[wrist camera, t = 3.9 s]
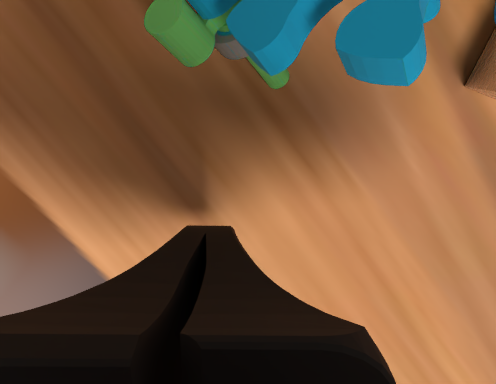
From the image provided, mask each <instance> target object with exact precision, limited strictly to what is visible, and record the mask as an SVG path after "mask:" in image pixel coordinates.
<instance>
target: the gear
mask: <svg viewBox="0 0 496 384" xmlns="http://www.w3.org/2000/svg"><path fill="white" fill-rule="evenodd" d="M187 1H188V2H189V3H190V4H191V6H192V7H193V8H194V9H195V10H196V11H197V13H198V14H196V13H195V11H194V10H193V9H192V8H191V7H190V6H189V4H188V3H187V2H186V1H185V0H154V1H153V3H152V4H151V5H150V6H149V8H148V10H147V12H146V14H145V18H144V26H145V28H146V30H147V31H148V32H149V33H150V34H151V35H152V36H153V37H154V38H155V39H156V40H157V41H159V42H160V43H161V44H162V45H163V46H164V47H165V48H166V49H167V50H168V51H169V52H170V53H171V54H172V55H174V56H175V57H176V58H177V59H178V60H179V61H180V62H181V63H182V64H183V65H184V66H187V67H194V66H198V65H200V64H201V63H203V62H204V61H205V60H207V59H208V57H209V56H210V55H211V53H212V51H213V49H214V47H215V48H216V49H217V50H218V51H219V52H220V53H221V54H222V55H223V56H224V57H226V58H228V59H242V58H245V57H246V58H247V59H248V61H249V62H250V63H251V64H252V65H253V67H254V68H255V69H256V70H257V72H258V73H259V74H260V75H261V77H262V78H263V79H264V80H265V82H266V83H267V84H268V85H269V86H270V87H271V88H273V89H279V88H281V87H283V86H284V85H285V84H286V83H287V82H288V80H289V72H288V70H287V68H288V67H289V66H290V65H291V64H292V63H293V62H294V60H295V59H296V57H297V56H298V54H299V52H300V50H301V47H302V45H303V43H304V41H305V40H306V38H307V36H308V35H309V33H310V32H311V30H312V29H313V28H314V26H315V25H316V24H317V23H318V22H319V20H320V19H321V18H322V17H323V16H324V15H325V14H326V13H328V12H329V11H330V10H331V9H332V8H333V7H334V6H336V5H337V4H338V3H340V2H341V1H343V0H187ZM439 10H440V0H366V1H365V2H363V3H362V4H360V5H358V6H357V7H356V8H355V9H353V10H352V11H351V12H350V13H349V14H348V15H347V16H346V17H345V18H344V20H343V21H342V23H341V24H340V26H339V29H338V31H337V34H336V40H335V43H336V50H337V52H338V54H339V56H340V58H341V61H342V63H343V65H344V67H345V70H346V72H347V74H348V75H350V76H352V77H354V78H356V79H358V80H361V81H364V82H368V83H373V84H381V85H394V86H409V85H410V84H411V83H413V82H414V81H415V80H416V79H417V78H418V76H419V75H420V73H421V72H422V70H423V68H424V65H425V62H426V44H425V35H424V27H423V23H426V22H428V21H430V20H432V19H433V18H434V17H435V16H436V15H437V14H438V12H439ZM494 21H495V24H496V1H495V10H494Z"/></svg>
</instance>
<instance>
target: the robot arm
mask: <svg viewBox="0 0 496 384" xmlns="http://www.w3.org/2000/svg"><path fill="white" fill-rule="evenodd" d="M0 384H396V382H395V380H394V377H393V375H392V373H391V371H390V369H389V367H388V365H387V363H386V361H385V359H384V357H383V356H382V354H381V352H380V351H379V349H378V347H377V346H376V344H375V343H374V341H373V340H372V338H371V337H370V335H369V334H368V332H367V330H366V329H365V327H363V326H360V325H358V324H355V323H352V322H349V321H346V320H343V319H341V318H338V317H335V316H332V315H330V314H327V313H325V312H323V311H321V310H319V309H317V308H314V307H312V306H310V305H308V304H306V303H305V302H303V301H301V300H299V299H298V298H296V297H294V296H293V295H291V294H290V293H288V292H287V291H285V290H284V289H282V288H281V287H279V286H278V285H277V284H276V283H274V282H273V281H272V280H271V279H270V278H268V277H267V276H266V275H265V274H264V273H263V272H262V271H261V270H260V269H259V267H258V266H257V265H256V264H255V263H254V262H253V260H252V259H251V258H250V257H249V255H248V254H247V252H246V251H245V250H244V248H243V247H242V245H241V243H240V242H239V240H238V238H237V236H236V234H235V230H234V229H233V228H232V227H231V226H186V227H185V228H184V229H182V230H181V231H180V232H179V233H178V234H176V235H175V236H174V237H173V238H172V239H171V240H169V241H168V242H167V243H166V244H164V245H163V246H162V247H161V248H159V249H158V250H157V251H155V252H154V253H152V254H151V255H150V256H148V257H147V258H145V259H144V260H142V261H141V262H140V263H138V264H137V265H135V266H134V267H132V268H130V269H129V270H127V271H125V272H123V273H122V274H120V275H118V276H116V277H114V278H112V279H110V280H108V281H106V282H104V283H102V284H100V285H97V286H95V287H93V288H90V289H88V290H86V291H83V292H81V293H78V294H76V295H74V296H71V297H68V298H65V299H62V300H60V301H57V302H54V303H51V304H48V305H44V306H41V307H38V308H34V309H31V310H27V311H24V312H19V313H15V314H11V315H6V316H2V317H0Z"/></svg>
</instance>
